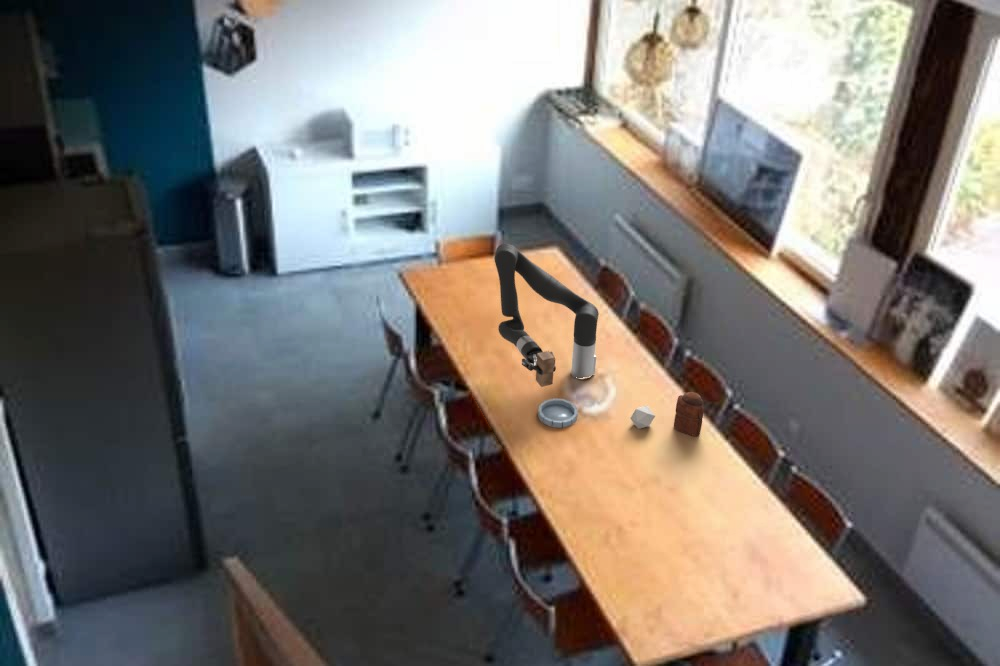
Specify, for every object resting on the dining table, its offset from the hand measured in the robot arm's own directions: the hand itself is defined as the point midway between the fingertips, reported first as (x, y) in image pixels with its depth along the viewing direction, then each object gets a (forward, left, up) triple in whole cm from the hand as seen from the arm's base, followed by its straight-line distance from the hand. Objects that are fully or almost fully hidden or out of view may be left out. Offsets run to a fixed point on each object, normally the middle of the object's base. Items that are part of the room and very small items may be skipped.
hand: (548, 371), depth 407 cm
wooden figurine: (-48, +31, -22) cm, 61 cm away
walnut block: (0, -3, -7) cm, 7 cm away
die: (-33, +21, -22) cm, 45 cm away
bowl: (-5, +2, -22) cm, 23 cm away
